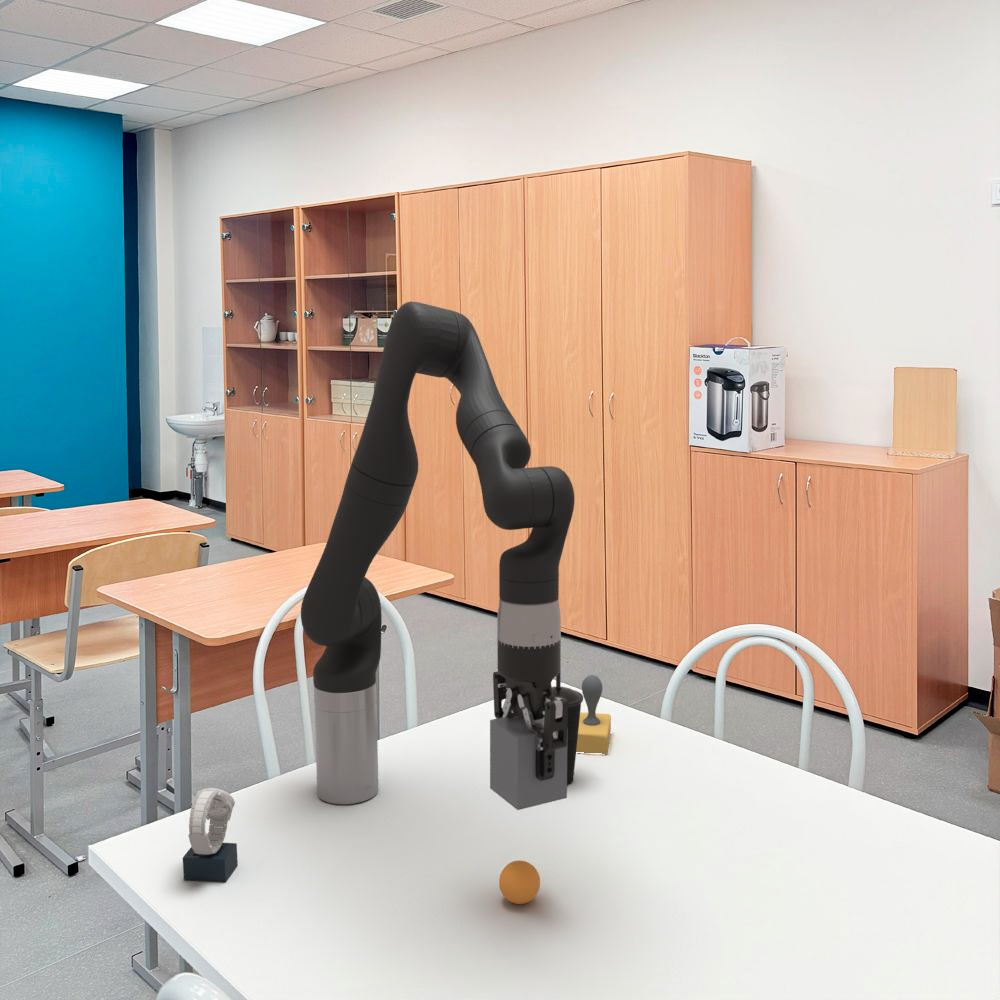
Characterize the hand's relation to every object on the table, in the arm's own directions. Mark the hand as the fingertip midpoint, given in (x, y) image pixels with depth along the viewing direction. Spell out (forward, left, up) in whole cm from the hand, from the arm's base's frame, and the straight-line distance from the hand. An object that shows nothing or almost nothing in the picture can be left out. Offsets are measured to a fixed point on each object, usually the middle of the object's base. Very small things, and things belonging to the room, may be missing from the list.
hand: (528, 767), depth 127 cm
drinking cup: (-27, +21, -17) cm, 38 cm away
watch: (-25, -33, -17) cm, 45 cm away
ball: (+1, -2, -14) cm, 14 cm away
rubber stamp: (-37, +34, -17) cm, 53 cm away
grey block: (0, 0, -3) cm, 3 cm away
